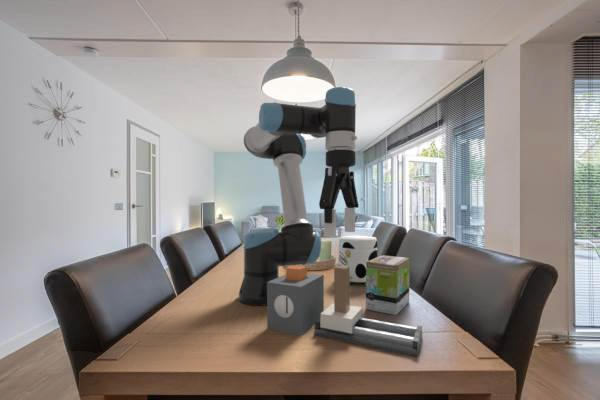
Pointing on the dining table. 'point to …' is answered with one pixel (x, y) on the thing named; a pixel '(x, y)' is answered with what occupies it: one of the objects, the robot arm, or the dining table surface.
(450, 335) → the dining table surface
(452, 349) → the dining table surface
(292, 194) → the robot arm
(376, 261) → the tea box
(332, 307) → the carriage
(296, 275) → the orange cube
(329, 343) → the dining table surface
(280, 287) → the gauge cabinet
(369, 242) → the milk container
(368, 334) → the rail track
